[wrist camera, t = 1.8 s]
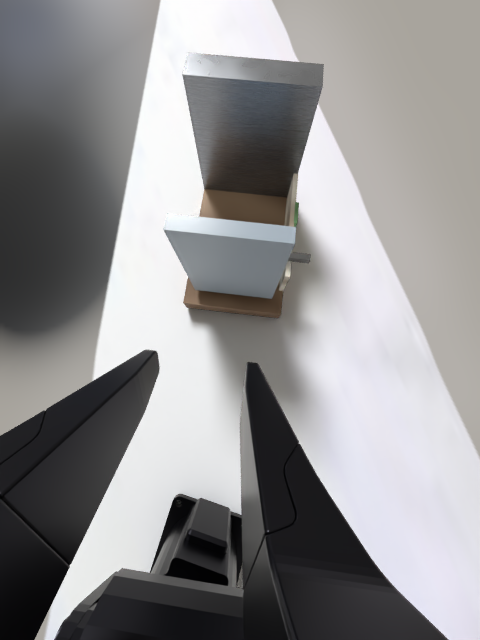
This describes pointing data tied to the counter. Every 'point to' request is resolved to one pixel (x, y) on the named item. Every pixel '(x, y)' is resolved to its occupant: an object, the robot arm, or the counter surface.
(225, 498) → the counter surface
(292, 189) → the gauge frame
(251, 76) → the brushed steel plate
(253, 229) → the pale blue shelf board
